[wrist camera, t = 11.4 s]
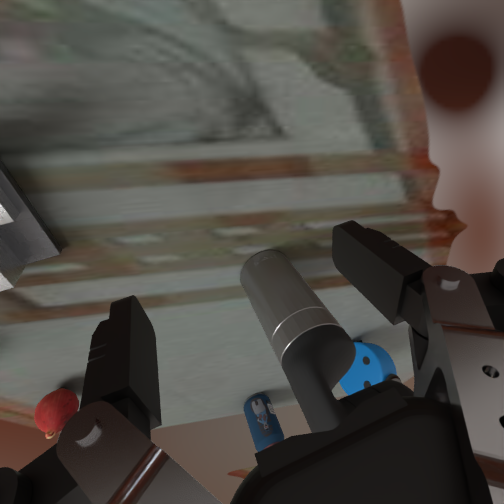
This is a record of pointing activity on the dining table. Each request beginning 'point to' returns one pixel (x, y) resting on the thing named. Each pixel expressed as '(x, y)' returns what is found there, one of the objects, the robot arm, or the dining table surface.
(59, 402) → the onion
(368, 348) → the alarm clock
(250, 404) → the soda can
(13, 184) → the grey desk organizer
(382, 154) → the dining table surface
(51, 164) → the dining table surface
